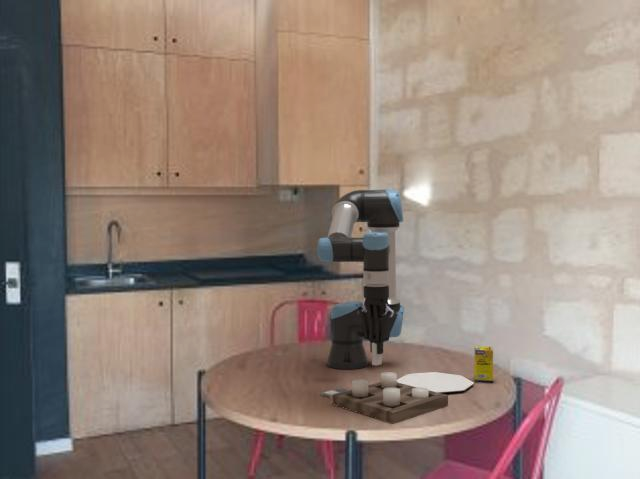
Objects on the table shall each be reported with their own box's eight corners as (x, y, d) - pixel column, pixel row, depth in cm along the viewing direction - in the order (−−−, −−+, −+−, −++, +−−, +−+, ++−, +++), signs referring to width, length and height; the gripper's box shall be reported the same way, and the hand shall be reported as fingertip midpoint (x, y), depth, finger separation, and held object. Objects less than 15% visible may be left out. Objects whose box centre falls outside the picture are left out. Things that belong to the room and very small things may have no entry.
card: (320, 394, 210) (320, 392, 210) (341, 389, 216) (341, 386, 216) (340, 400, 203) (340, 398, 203) (361, 394, 209) (361, 392, 209)
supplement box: (493, 383, 221) (493, 350, 221) (474, 382, 222) (474, 349, 222) (492, 378, 227) (492, 346, 226) (474, 377, 228) (474, 346, 228)
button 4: (408, 402, 198) (408, 389, 198) (419, 399, 201) (419, 386, 201) (421, 406, 194) (421, 392, 194) (431, 403, 198) (431, 389, 197)
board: (332, 404, 199) (332, 394, 199) (387, 389, 215) (387, 380, 215) (393, 423, 181) (393, 412, 181) (448, 405, 197) (448, 395, 197)
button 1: (348, 394, 199) (348, 381, 199) (360, 391, 202) (360, 378, 202) (360, 398, 195) (360, 384, 195) (371, 394, 199) (371, 381, 198)
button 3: (379, 403, 190) (379, 389, 189) (391, 400, 193) (390, 386, 193) (392, 407, 186) (392, 393, 186) (403, 403, 189) (403, 389, 189)
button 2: (377, 386, 207) (377, 374, 207) (388, 384, 210) (388, 371, 210) (389, 389, 204) (389, 376, 203) (399, 386, 207) (399, 374, 207)
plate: (455, 400, 204) (455, 395, 204) (386, 389, 216) (385, 385, 216) (481, 382, 224) (481, 377, 224) (416, 373, 236) (416, 369, 236)
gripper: (351, 284, 199) (352, 362, 200) (384, 288, 190) (385, 370, 191) (368, 282, 204) (369, 358, 205) (401, 285, 195) (402, 365, 196)
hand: (376, 364), depth 198 cm, fingers closed
